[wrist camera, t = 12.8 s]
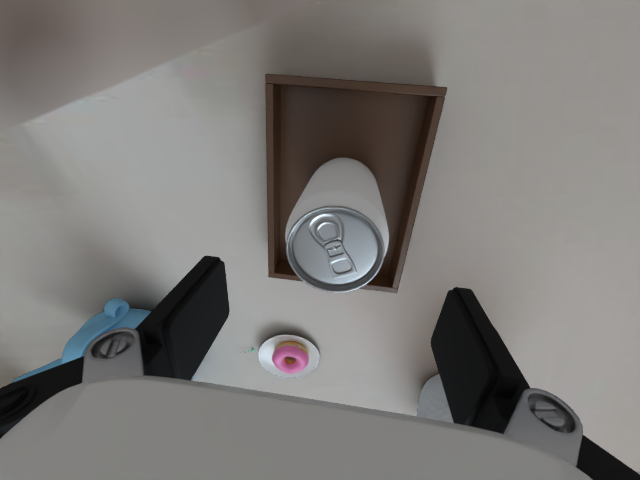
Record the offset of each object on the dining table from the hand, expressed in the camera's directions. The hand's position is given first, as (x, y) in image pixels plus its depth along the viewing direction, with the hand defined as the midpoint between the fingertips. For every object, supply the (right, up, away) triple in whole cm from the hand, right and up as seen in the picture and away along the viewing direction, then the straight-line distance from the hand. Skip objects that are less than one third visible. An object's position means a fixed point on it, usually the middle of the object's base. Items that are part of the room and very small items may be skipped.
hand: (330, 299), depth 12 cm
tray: (+2, +7, +16) cm, 17 cm away
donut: (-6, -13, +27) cm, 31 cm away
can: (+2, +7, +15) cm, 17 cm away
